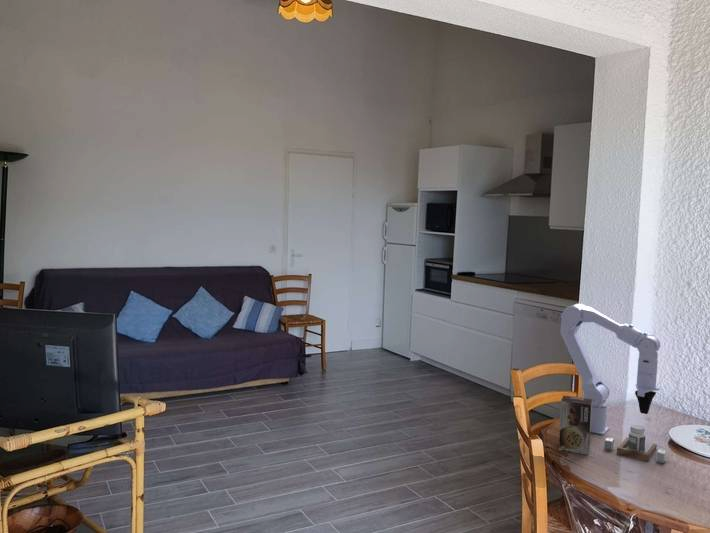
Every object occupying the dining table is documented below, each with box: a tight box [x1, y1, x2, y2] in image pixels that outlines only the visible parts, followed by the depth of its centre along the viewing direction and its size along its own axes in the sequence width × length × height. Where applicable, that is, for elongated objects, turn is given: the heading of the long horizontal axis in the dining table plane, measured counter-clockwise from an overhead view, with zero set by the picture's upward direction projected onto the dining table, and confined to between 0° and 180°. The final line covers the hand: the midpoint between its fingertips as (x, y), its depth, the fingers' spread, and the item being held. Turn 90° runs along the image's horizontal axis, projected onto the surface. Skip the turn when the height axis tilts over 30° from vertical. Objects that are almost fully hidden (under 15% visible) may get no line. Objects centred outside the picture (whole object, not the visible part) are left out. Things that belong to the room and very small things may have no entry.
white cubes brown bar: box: [603, 436, 667, 464], centre depth 189 cm, size 17×13×3 cm
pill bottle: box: [627, 424, 646, 453], centre depth 188 cm, size 5×5×8 cm
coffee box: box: [558, 395, 592, 456], centre depth 189 cm, size 9×6×16 cm
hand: (644, 413), depth 198 cm, fingers closed
